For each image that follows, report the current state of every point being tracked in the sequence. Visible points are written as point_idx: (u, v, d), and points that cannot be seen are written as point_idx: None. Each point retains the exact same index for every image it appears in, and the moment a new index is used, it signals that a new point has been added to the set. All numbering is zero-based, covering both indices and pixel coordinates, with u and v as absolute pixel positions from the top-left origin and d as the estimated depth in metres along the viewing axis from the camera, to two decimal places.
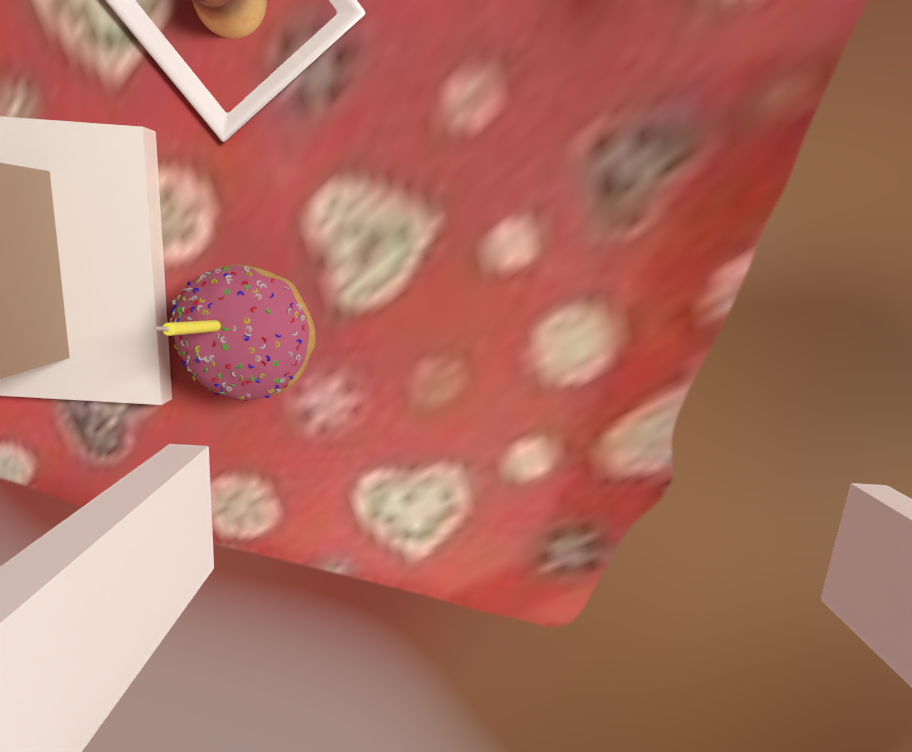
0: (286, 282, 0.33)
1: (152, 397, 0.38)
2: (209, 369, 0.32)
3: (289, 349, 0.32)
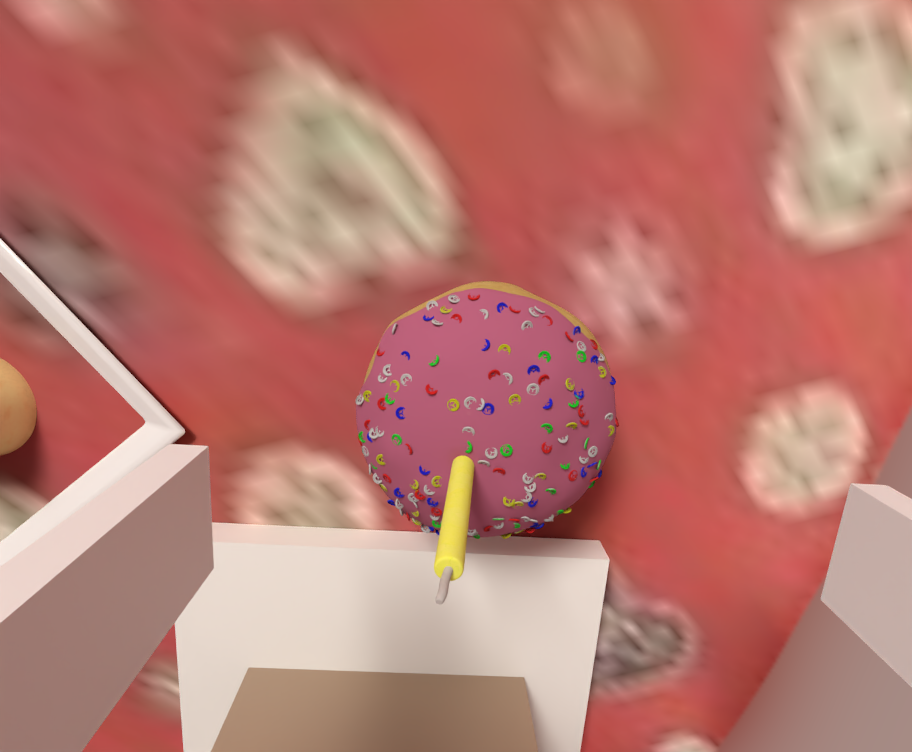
0: None
1: (595, 571, 0.23)
2: (550, 483, 0.16)
3: (517, 327, 0.16)
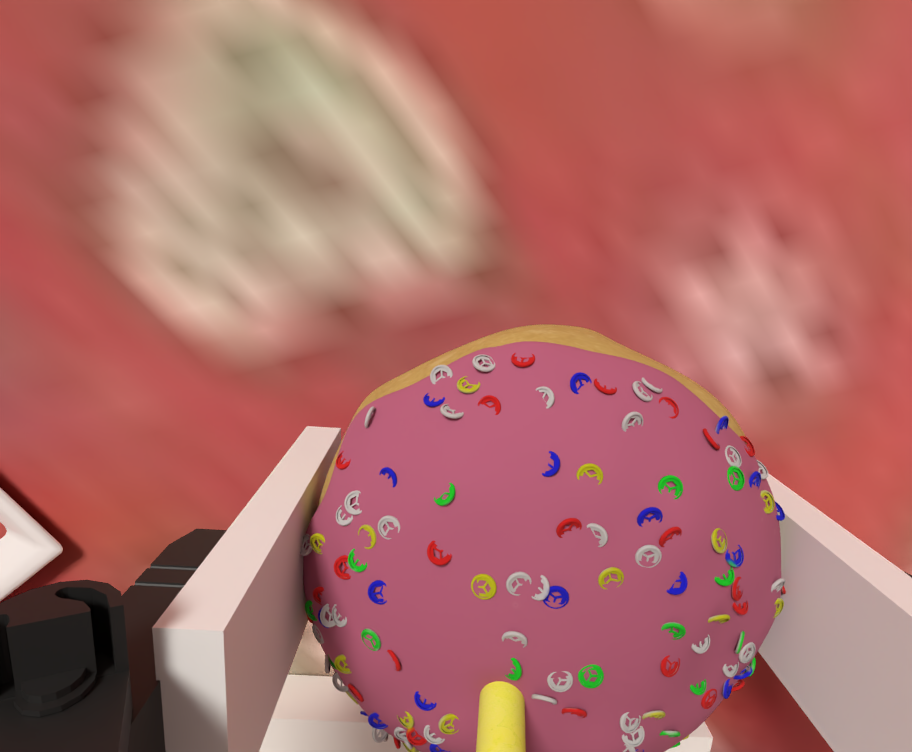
0: (358, 413, 0.09)
1: None
2: (670, 720, 0.08)
3: (613, 424, 0.08)
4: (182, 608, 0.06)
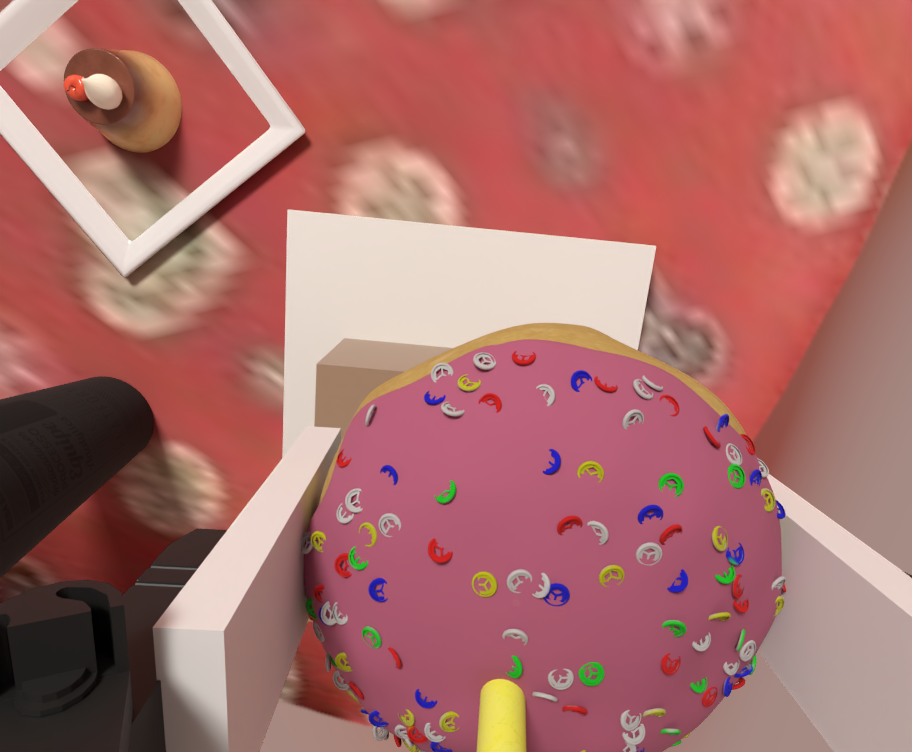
0: None
1: (644, 257, 0.27)
2: (670, 719, 0.08)
3: (614, 422, 0.08)
4: (182, 608, 0.06)
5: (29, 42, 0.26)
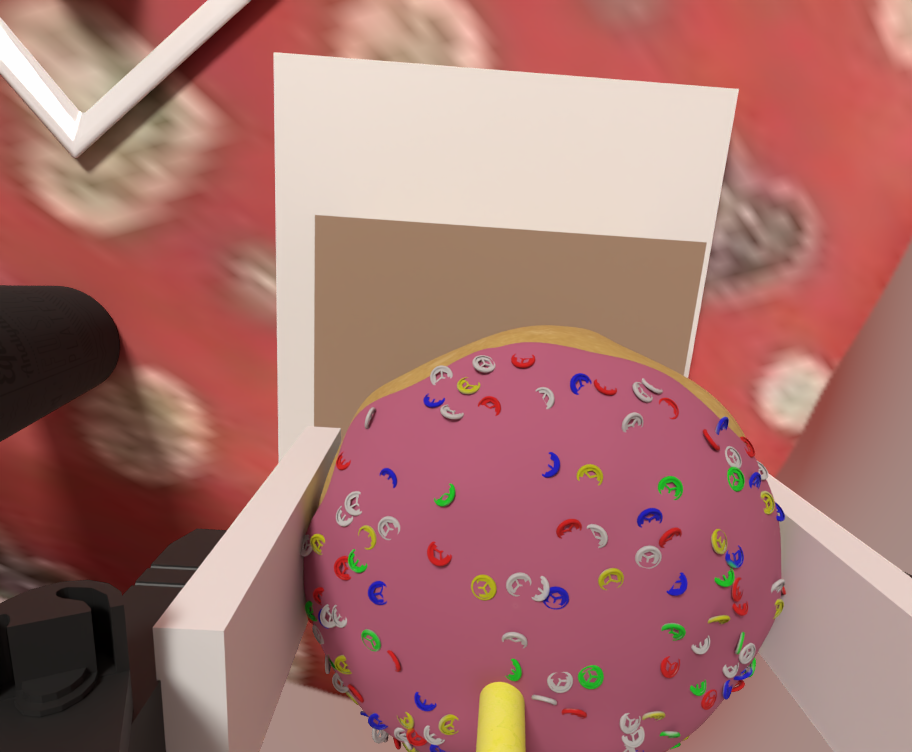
0: None
1: (723, 104, 0.21)
2: (669, 721, 0.08)
3: (614, 424, 0.08)
4: (182, 608, 0.06)
5: None
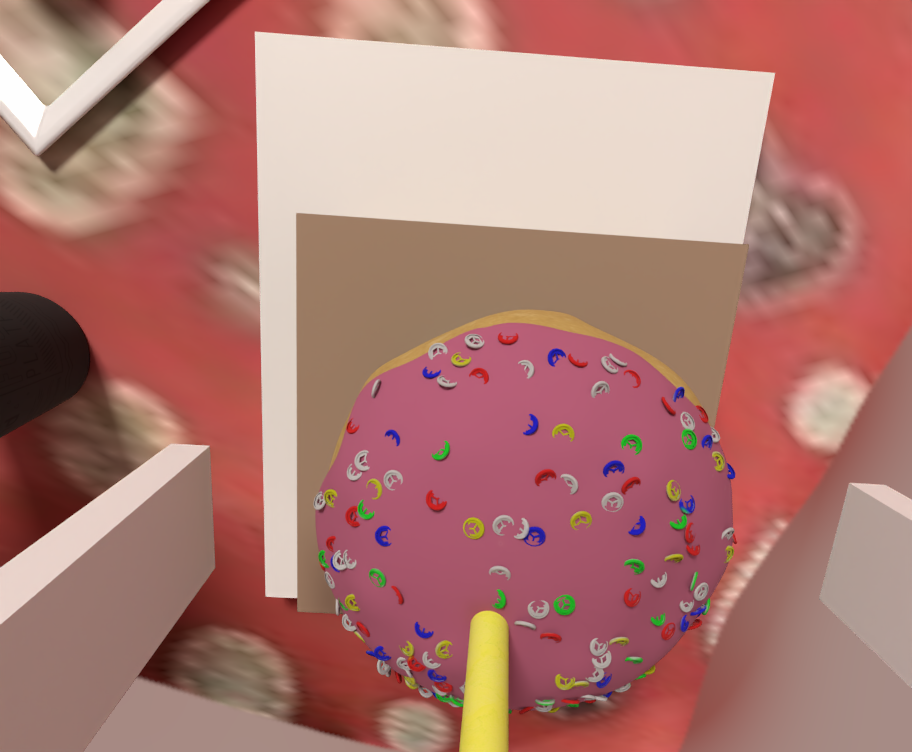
0: None
1: (757, 90, 0.19)
2: (634, 648, 0.10)
3: (584, 391, 0.09)
4: None
5: None
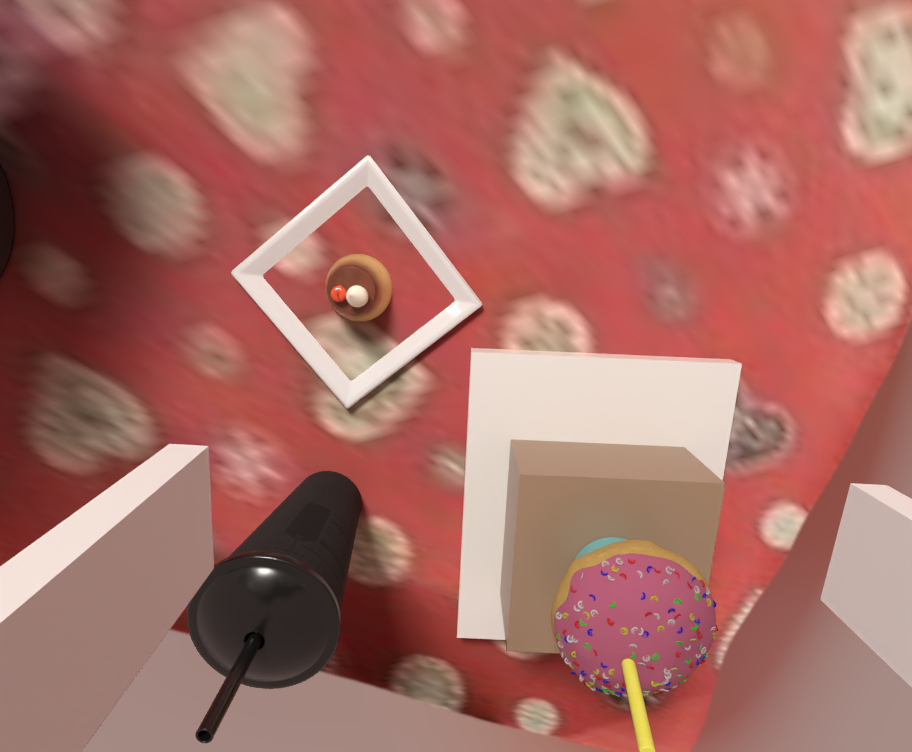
0: (573, 571, 0.28)
1: (732, 372, 0.36)
2: (679, 671, 0.27)
3: (660, 582, 0.26)
4: None
5: (288, 251, 0.36)
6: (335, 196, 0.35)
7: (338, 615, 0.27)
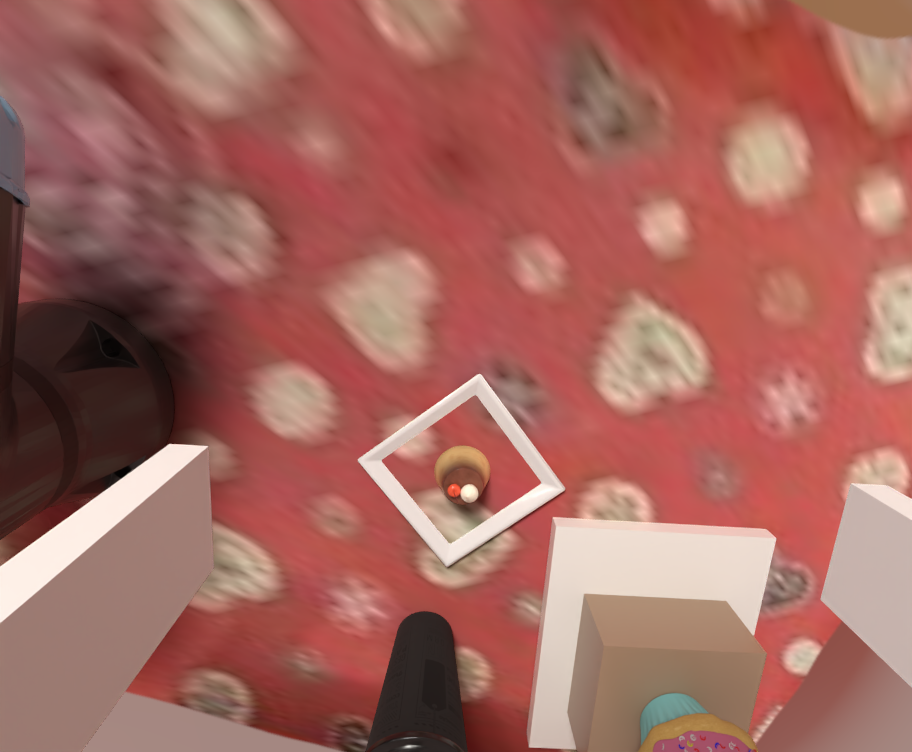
0: (655, 740, 0.36)
1: (768, 544, 0.44)
2: None
3: None
4: None
5: (405, 442, 0.43)
6: (449, 403, 0.42)
7: None
